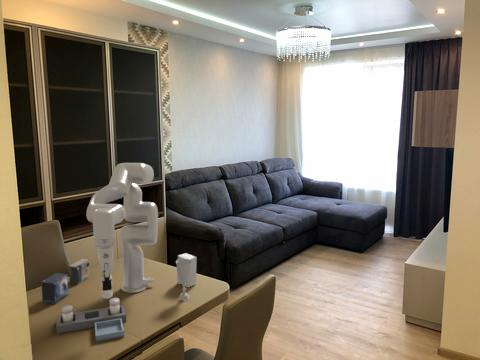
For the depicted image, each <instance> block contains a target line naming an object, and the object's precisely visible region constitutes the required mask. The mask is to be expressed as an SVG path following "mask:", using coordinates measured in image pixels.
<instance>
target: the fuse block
mask: <svg viewBox="0 0 480 360" xmlns="http://www.w3.org/2000/svg"><path fill="white" fill-rule="evenodd" d="M119 307H120V314H114V315H110V306H107V307H103V308H96V309H88V310H83V311H77V312H73V321H72V322H66V323H63V315H62V314H58V315H57V320H56V325H55V326H56V334H61V333H68V332H73V331H80V330H83V329H90V328H95V323H96V322H102V321H108V320H114V319H119V318H122V323H125V322H127V312H126V308H125V305H124V304H121V305H120V304H119Z"/></svg>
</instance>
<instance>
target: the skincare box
mask: <svg viewBox="0 0 480 360" xmlns="http://www.w3.org/2000/svg"><path fill="white" fill-rule="evenodd" d="M179 259H189V260H191V261H192V262H191V264H190V268H191V272H190V275H189V277H188V279H187V281H185V286H187V287H189V286H191V285H193V284H195V283H196V284H197V263H198V262H197V256H195V255H192V254H189V253H187V252H185V253H182V254H178V255H177V260H179ZM176 283H180V284H182V285H183V281H181V280H180V278H179V276H178V274H177V273H176ZM180 284H179V285H180ZM182 285H181V286H182ZM191 287H192V286H191ZM189 288H190V287H189Z"/></svg>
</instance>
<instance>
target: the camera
mask: <svg viewBox="0 0 480 360" xmlns="http://www.w3.org/2000/svg"><path fill="white" fill-rule="evenodd" d="M89 267H90V261H89V259H87V258H81V259H80V260H78V261H75V262H74V263H72V264H70V265H69V267H68V274H69V277H68V279H69V284H70V285H72V286H78V285H80V284H81V283H83V281H86V280H87V279H89V277H90V271H89V270H90V269H89Z"/></svg>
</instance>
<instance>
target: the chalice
mask: <svg viewBox="0 0 480 360" xmlns="http://www.w3.org/2000/svg"><path fill="white" fill-rule="evenodd" d="M191 262H192V261H191V260H189V259H179V260H178V259H176V261H175V264H176V275H177V274H178V276H179V278H180V280H181V281H183V285H181V286H182V289H181V290H182V292H181V293H180V295H179V297H178V300H179V299H180V300H187V299H189V298H190V296H189V294H188V293H187V292H186V290H187V288H186V287H185V281H187V279H188V277H189V275H190V272H191V268H190V264H191ZM180 300H179V301H180ZM189 300H190V299H189Z"/></svg>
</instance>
